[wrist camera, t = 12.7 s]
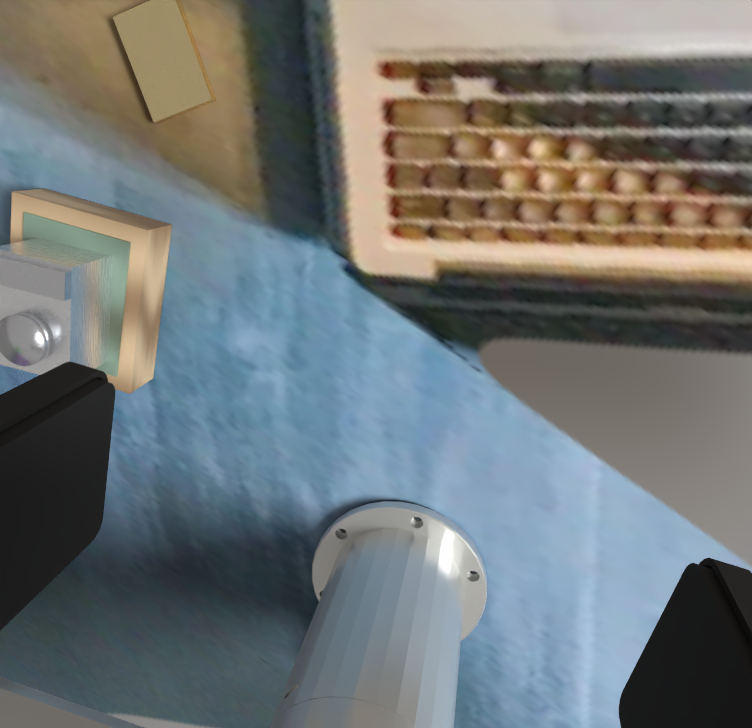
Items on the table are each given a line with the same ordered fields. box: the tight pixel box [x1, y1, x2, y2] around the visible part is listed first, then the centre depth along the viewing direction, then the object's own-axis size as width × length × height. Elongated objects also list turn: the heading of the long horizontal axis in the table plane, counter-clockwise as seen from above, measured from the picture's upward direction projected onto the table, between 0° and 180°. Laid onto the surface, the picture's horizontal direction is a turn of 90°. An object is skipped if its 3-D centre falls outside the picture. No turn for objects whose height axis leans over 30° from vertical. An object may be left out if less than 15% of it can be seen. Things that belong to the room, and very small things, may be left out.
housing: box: [0, 238, 112, 375], centre depth 38 cm, size 7×5×5 cm
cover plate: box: [113, 0, 216, 123], centre depth 38 cm, size 6×4×1 cm, turn 18°
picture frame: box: [10, 188, 172, 394], centre depth 42 cm, size 11×9×3 cm
